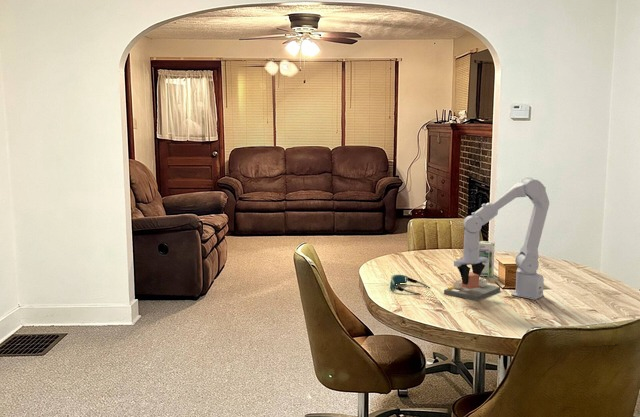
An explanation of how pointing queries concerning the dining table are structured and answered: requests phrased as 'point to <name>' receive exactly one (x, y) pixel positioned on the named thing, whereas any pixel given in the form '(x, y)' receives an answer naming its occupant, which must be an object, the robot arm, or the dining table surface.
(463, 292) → the breaker panel
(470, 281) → the block
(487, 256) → the syrup box
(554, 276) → the dining table surface
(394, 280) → the sunglasses
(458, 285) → the tagged breaker switch
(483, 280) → the breaker switch
